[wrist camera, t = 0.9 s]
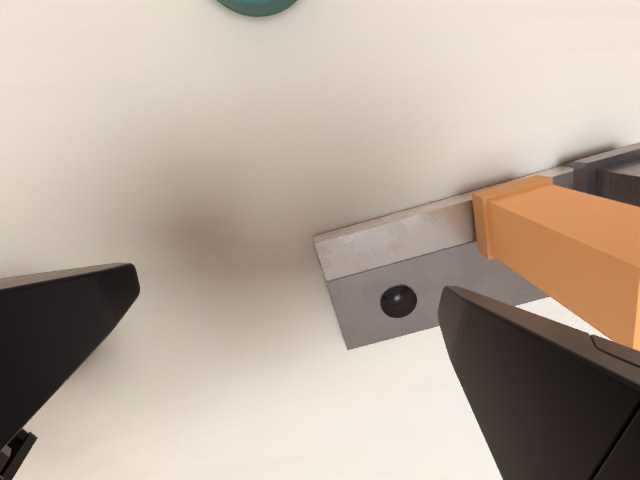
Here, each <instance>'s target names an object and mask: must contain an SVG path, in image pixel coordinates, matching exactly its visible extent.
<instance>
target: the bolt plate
mask: <svg viewBox="0 0 640 480" xmlns="http://www.w3.org/2000/svg"><path fill="white" fill-rule="evenodd" d="M326 282H327V286H328V289H329V292H330V295H331V298H332V302H333V305H334V308H335V311H336V315H337V318H338V321H339V324H340V327H341V331H342V334H343V337H344V340H345V344H346V347H347V350H350V349H354V348H358V347H361V346H365V345H369V344H373V343H376V342H380V341H384V340H388V339H391V338H395V337H399V336H403V335H407V334H410V333H414V332H418V331H422V330H425V329H429V328H433V327H437V326H440V324H439V321H438V307H439V302H440V298H441V294H442V290H443V288H444V287H445V286H459V287H462V288H465V289H468V290H470V291H473V292H476V293H479V294H481V295H484V296H487V297H490V298H492V299H495V300H498V301H501V302H503V303H506V304H509V305H512V306H516V305H520V304H524V303H527V302H531V301H535V300H539V299H542V298H546V297H550V296H549V295H548V294H546V293H545V292H543V291H542V290H540V289H539V288H538V287H536V286H535V285H533V284H532V283H531V282H529V281H528V280H526V279H525V278H524V277H522V276H521V275H519V274H518V273H517V272H515V271H514V270H512V269H511V268H510V267H508V266H507V265H505V264H504V263H503V262H501V261H500V260H498V259H497V258H493V259H489V260H488V259H487V258H485V257H484V256H483V255H481V254H480V253H479V252H478V246H477V240H474V241H471V242H467V243H464V244H460V245H456V246H453V247H449V248H445V249H442V250H438V251H435V252H431V253H427V254H424V255H420V256H417V257H413V258H409V259H406V260H402V261H398V262H395V263H391V264H388V265H384V266H380V267H377V268H373V269H370V270H366V271H362V272H359V273H355V274H351V275H348V276H344V277H341V278H337V279H333V280H330V281H326Z"/></svg>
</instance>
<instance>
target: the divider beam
mask: <svg viewBox="0 0 640 480" xmlns="http://www.w3.org/2000/svg"><path fill="white" fill-rule="evenodd" d="M534 175H542V176H547V177H551V178H553V185H556V186H560V187H564V188H568V189H572V190H575V191H579V192H583V193H587V194H591V195H595V196H599V197H602V198H606V199H610V200H614V201H618V202H622V203H626V204H629V205H633V206H637V207H640V142H639V143H636V144H632V145H629V146H625V147H622V148H618V149H615V150H611V151H606V152H603V153H599V154H596V155H592V156H588V157H585V158H581V159H578V160H574V161H571V162H567V163H564V164H563V165H562V166H559V167H555V168H552V169H548V170H544V171H541V172H537V173H534V174H530V175H527V176H523V177H520V178H516V179H513V180H509V181H506V182H502V183H499V184H495V185H492V186H488V187H485V188H481V189H478V190H474V191H471V192H467V193H464V194H460V195H456V196H453V197H449V198H446V199H442V200H439V201H435V202H432V203H428V204H425V205H421V206H418V207H414V208H411V209H407V210H404V211H400V212H397V213H393V214H390V215H386V216H383V217H379V218H376V219H372V220H368V221H365V222H361V223H358V224H354V225H351V226H347V227H344V228H340V229H337V230H333V231H330V232H326V233H323V234H319V235H316V236H314V244H315V248H316V251H317V254H318V257H319V260H320V264H321V267H322V270H323V273H324V277H325V280H326V281H330V280H333V279H337V278H341V277H344V276H348V275H351V274H355V273H359V272H362V271H366V270H370V269H373V268H377V267H380V266H384V265H388V264H391V263H395V262H398V261H402V260H406V259H409V258H413V257H417V256H420V255H424V254H427V253H431V252H435V251H438V250H442V249H445V248H449V247H453V246H456V245H460V244H464V243H467V242H471V241H474V240H477V237H476V228H475V219H474V210H473V201H472V193H474V192H478V191H481V190H485V189H489V188H492V187H496V186H499V185H503V184H506V183H510V182H513V181H517V180H520V179H524V178H527V177H531V176H534Z"/></svg>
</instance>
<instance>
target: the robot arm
mask: <svg viewBox="0 0 640 480" xmlns="http://www.w3.org/2000/svg"><path fill="white" fill-rule="evenodd" d="M139 293H140V285H139V281H138V276H137V272H136V268H135V266H134V265H133V264H131V263H112V264H105V265H97V266H90V267H82V268H75V269H68V270H60V271H53V272H46V273H38V274H31V275H23V276H16V277H9V278H1V279H0V480H12V479H13V477H14V475H15V474H16V472H17V471H18V469H19V467H20V466H21V464H22V462H23V461H24V459H25V458H26V456H27V454H28V453H29V451H30V449H31V448H32V446H33V444H34V443H35V441H36V440H37V437H36V436H35V435H34V434H32V433H31V432H29V433H28V432H27V431H25V430H24V429H23V427H24V426H25V424H26V423H27V422H28V421H29V420H30V419H31V418H32V417H33V416H34V415H35V414H36V413H37V412H38V410H39V409H40V408H41V407H42V406H43V405H44V404H45V403H46V402H47V401H48V400H49V399H50V398H51V397H52V395H53V394H54V393H55V392H56V391H57V390H58V389H59V388H60V387H61V386H62V385H63V384H64V383H65V381H66V380H67V379H68V378H69V377H70V376H71V375H72V374H73V373H74V372H75V371H76V370H77V369H78V367H79V366H80V365H81V364H82V363H83V362H84V361H85V360H86V359H87V358H88V357H89V356H90V355H91V353H92V352H93V351H94V350H95V349H96V348H97V347H98V346H99V345H100V344H101V343H102V342H103V341H104V340H105V338H106V337H107V336H108V335H109V334H110V333H111V332H112V330H113V329H114V328H115V327H116V325H117V324H118V323H119V321H120V320H121V319H122V317H123V316H124V315H125V313H126V312H127V311H128V309H129V308H130V307H131V305H132V304H133V303H134V301H135V300H136V299H137V297H138V296H139ZM438 321H439V324H440V328H441V331H442V335H443V338H444V341H445V345H446V348H447V352H448V355H449V358H450V360H451V363H452V365H453V368H454V370H455V372H456V374H457V377H458V379H459V381H460V383H461V386H462V388H463V390H464V392H465V395H466V397H467V399H468V402H469V404H470V406H471V408H472V411H473V413H474V415H475V417H476V420H477V422H478V424H479V426H480V429H481V431H482V433H483V435H484V438H485V440H486V442H487V444H488V447H489V449H490V451H491V453H492V456H493V458H494V460H495V462H496V465H497V467H498V469H499V471H500V474H501V476H502V478H503V480H640V351H638V350H635V349H632V348H630V347H627V346H624V345H621V344H618V343H615V342H613V341H610V340H607V339H604V338H601V337H599V336H596V335H591V336H590V335H589V334H588V333H586V332H583V331H580V330H578V329H575V328H572V327H569V326H567V325H564V324H561V323H558V322H556V321H553V320H550V319H547V318H545V317H542V316H539V315H536V314H534V313H531V312H528V311H525V310H523V309H520V308H517V307H514V306H512V305H509V304H506V303H503V302H501V301H498V300H495V299H492V298H490V297H487V296H484V295H481V294H479V293H476V292H473V291H470V290H468V289H465V288H462V287H459V286H445V287H444V288H443V290H442V294H441V298H440V302H439V307H438Z"/></svg>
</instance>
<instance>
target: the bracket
mask: <svg viewBox="0 0 640 480" xmlns="http://www.w3.org/2000/svg"><path fill="white" fill-rule="evenodd" d="M218 1H219V2H220V3H221V4H223V5H224V6H226V7H227V8H229V9H231V10H233V11H235V12H237V13H240V14H243V15H248V16H255V17H262V16H269V15H273V14H276V13H279V12H281V11H283V10H285V9H287V8H288V7H290V6H291V5H292V4H294V3H295V2H296V1H297V0H218Z"/></svg>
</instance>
